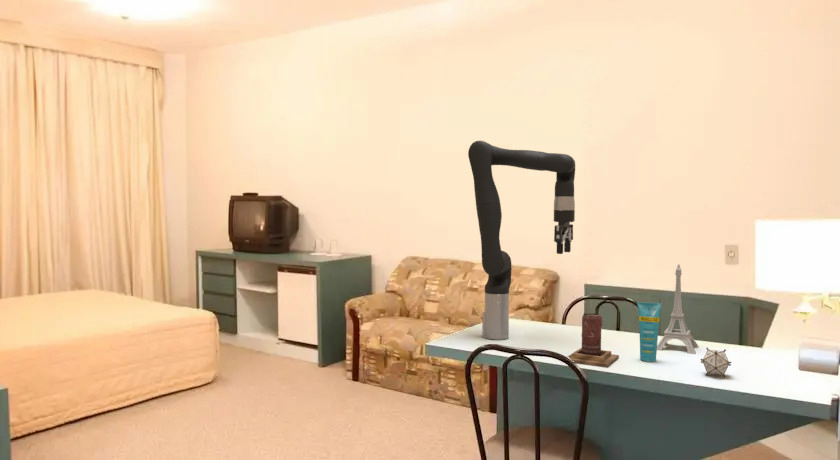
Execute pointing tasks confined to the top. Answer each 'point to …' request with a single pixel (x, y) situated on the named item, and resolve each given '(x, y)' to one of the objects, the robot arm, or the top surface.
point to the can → (591, 334)
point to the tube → (648, 329)
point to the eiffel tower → (678, 315)
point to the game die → (715, 362)
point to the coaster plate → (594, 358)
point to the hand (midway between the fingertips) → (563, 253)
